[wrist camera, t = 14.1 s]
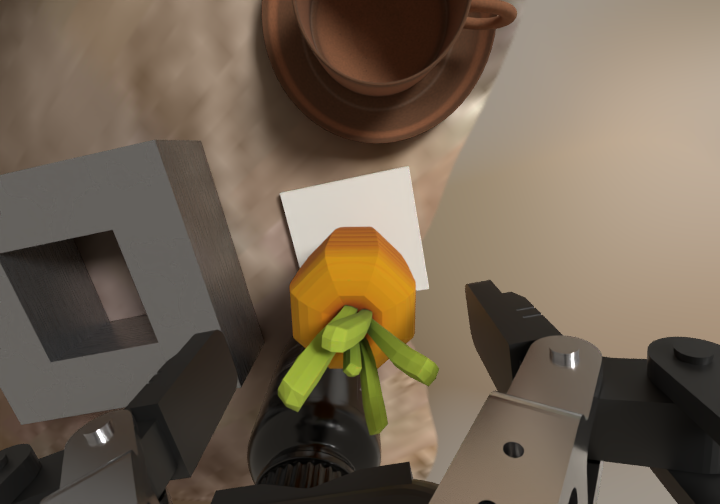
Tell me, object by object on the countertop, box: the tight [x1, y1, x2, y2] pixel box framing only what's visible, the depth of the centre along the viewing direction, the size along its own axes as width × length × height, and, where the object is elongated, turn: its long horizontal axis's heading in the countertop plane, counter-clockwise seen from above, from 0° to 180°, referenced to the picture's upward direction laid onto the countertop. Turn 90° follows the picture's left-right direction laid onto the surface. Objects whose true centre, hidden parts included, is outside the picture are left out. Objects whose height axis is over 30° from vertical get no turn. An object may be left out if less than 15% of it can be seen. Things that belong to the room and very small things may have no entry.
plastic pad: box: [280, 166, 429, 291], centre depth 24 cm, size 8×8×1 cm
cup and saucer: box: [262, 0, 517, 143], centre depth 18 cm, size 12×12×6 cm
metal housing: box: [0, 140, 264, 425], centre depth 22 cm, size 14×14×5 cm
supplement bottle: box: [247, 337, 381, 488], centre depth 21 cm, size 7×7×12 cm
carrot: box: [278, 227, 439, 435], centre depth 16 cm, size 5×5×15 cm
